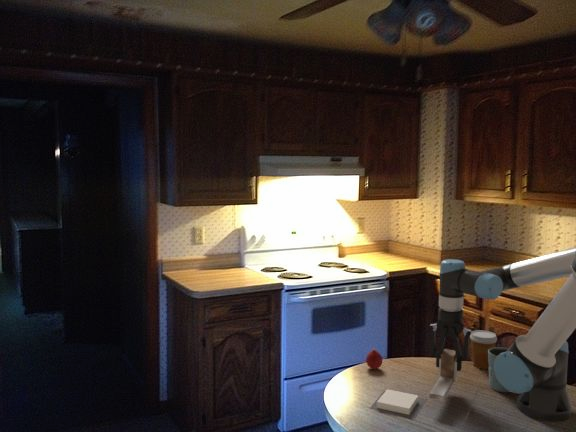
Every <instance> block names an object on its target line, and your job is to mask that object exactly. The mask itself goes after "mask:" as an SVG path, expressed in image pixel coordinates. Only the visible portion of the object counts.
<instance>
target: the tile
mask: <svg viewBox="0 0 576 432" xmlns="http://www.w3.org/2000/svg"><path fill="white" fill-rule="evenodd" d="M384 391H385V393H384V394H383V395H382V396H381V397H380V399H379V400H378V401H377V408H379V409H384V410H389V411H393V412H398V413H402V414H407V415H410V413H411V412H412V410H413V409H414V407H415V405H416V404H417V402H418V398H419V395H417V394H412V393H408V392H402V391H398V390H397V391H396V390H394V389H393V390H392V389H388V388H386V390H384Z"/></svg>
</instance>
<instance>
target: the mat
mask: <svg viewBox="0 0 576 432" xmlns="http://www.w3.org/2000/svg"><path fill="white" fill-rule="evenodd" d="M385 391H386V390H383V392H382V393H381V394H380V395H379V396H378V397H377V399H376V400H375V401H374V402H373V403H372V405H371V406H370V407H369V409H372V410H376V411H380V412H385V413H388V414H394V415H399V416H403V417H407V418H413V419H416V418H417V416H418V415H419V413H420V411H421V409H422V408H423V406H424V405H425V404H426V402H427V400H428V399H425V398H423V397H418V402H417V404H416V405H415V407H414V409H413V410H412V412H411V413H410V415H407V414H402V413H398V412H393V411H389V410H384V409H379V408H377V401H378V400H379V399H380V397H381V396H382V395H383V394H384V393H385Z"/></svg>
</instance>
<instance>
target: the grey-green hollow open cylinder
mask: <svg viewBox="0 0 576 432" xmlns="http://www.w3.org/2000/svg"><path fill="white" fill-rule="evenodd" d="M509 348H510V347H501V346H500V347H497V346H495V347H494V348H490V349H489V350H488V358H489V359H488V362H489V368H488V385H489V386H488V387H489V388H490V389H492V390H494V391H497V392H500V393H511V392H510V391H509V390H507V389H506V388H504V387H503V386H502V385H501V384H500V382H499V381H498V379H497V378H496V375H495V371H494V361H495V359H496V357H497V356H498V355H499V354H501V353H502V352H506V351H507V350H508V349H509Z"/></svg>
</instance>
